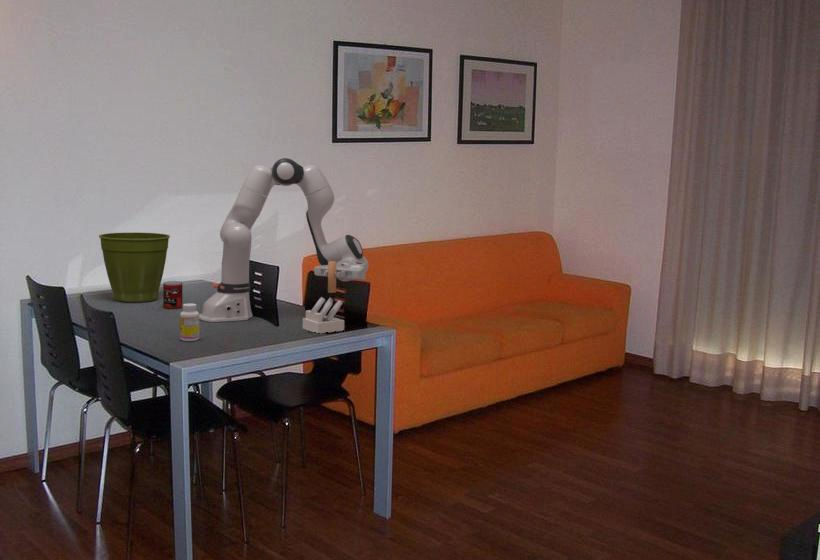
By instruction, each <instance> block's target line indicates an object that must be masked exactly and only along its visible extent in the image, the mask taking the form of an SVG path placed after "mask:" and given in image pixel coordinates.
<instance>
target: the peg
mask: <svg viewBox="0 0 820 560" xmlns="http://www.w3.org/2000/svg"><path fill="white" fill-rule="evenodd" d="M336 263H337V262H336V261H328V277H327V293H330V294H332V293H335V294H336V293H337V277H335V273H336Z"/></svg>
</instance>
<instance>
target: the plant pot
mask: <svg viewBox="0 0 820 560" xmlns="http://www.w3.org/2000/svg"><path fill="white" fill-rule="evenodd" d="M98 238H100V247H101V251H102V257H103V262H104V265H105V269H106V270H105V271H106V274H107V278H108V281H109V285H110V287H111V292H112V299H113V300H114V301H117V302H125V303H143V302H144V303H145V302H151V301H155V300H157V299H158V298H159V289H160V287H161V283H162V279H163V275H164V271H165V266H166V261H167V254H168V253H167V252H168V249H169V240H170V238H171V235H169V234H165V233H156V232H135V231H134V232H109V233H102V234H99V235H98Z"/></svg>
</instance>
